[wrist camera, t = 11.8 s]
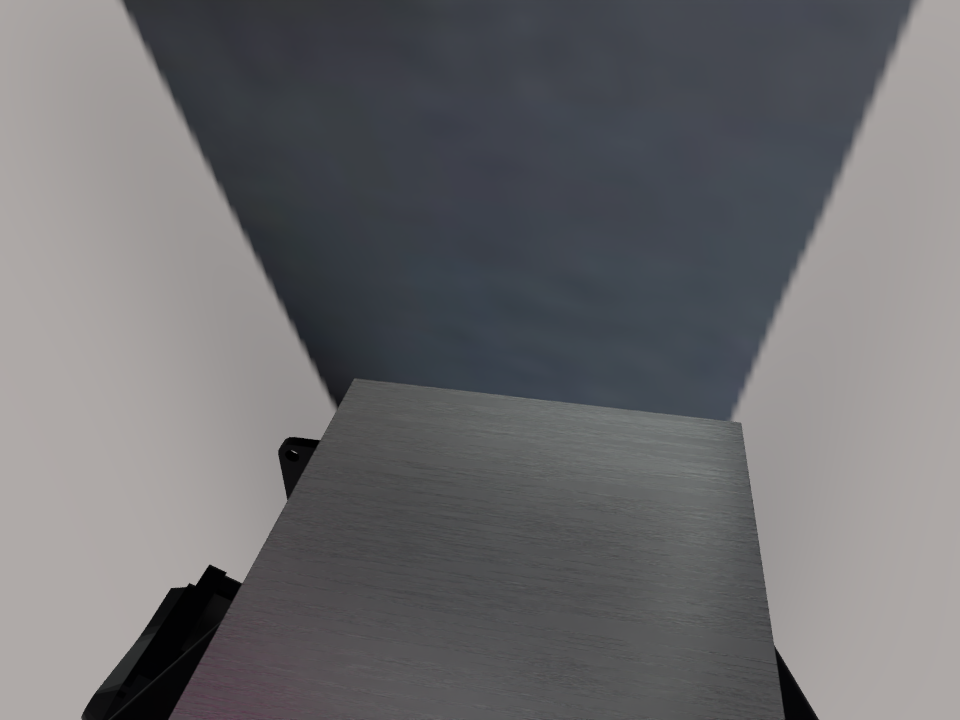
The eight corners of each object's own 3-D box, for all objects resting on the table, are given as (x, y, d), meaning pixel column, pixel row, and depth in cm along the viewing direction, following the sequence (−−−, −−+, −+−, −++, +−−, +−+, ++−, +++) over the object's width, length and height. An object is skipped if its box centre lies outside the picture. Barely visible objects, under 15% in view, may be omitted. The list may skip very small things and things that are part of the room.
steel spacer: (679, 663, 11) (692, 1069, 7) (381, 614, 12) (259, 965, 8) (741, 422, 9) (806, 863, 5) (354, 378, 9) (159, 736, 6)
